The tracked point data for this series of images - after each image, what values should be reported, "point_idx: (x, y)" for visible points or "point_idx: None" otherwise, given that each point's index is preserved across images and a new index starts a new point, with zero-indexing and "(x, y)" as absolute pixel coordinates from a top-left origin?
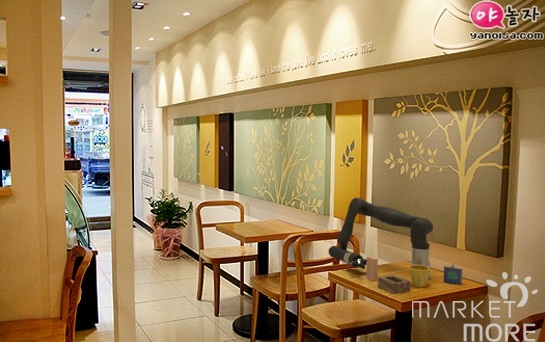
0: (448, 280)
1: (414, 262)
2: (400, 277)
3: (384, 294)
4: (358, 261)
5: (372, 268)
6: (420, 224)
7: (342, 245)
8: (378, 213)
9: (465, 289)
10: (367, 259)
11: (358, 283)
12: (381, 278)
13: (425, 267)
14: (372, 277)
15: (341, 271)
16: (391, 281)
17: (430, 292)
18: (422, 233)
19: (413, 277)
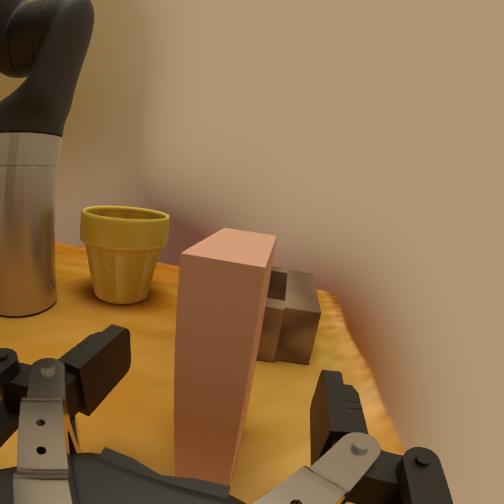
0: None
1: (46, 214)
2: None
3: (341, 323)
4: (335, 483)
5: (257, 347)
6: (93, 20)
7: None
8: None
9: (84, 247)
10: (259, 309)
11: (390, 441)
12: (312, 303)
13: (92, 213)
14: (245, 416)
15: None
16: (297, 280)
17: (175, 274)
18: (83, 60)
19: (155, 259)
